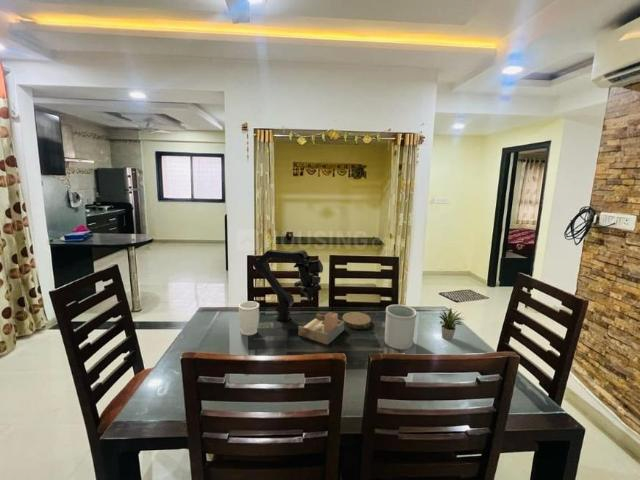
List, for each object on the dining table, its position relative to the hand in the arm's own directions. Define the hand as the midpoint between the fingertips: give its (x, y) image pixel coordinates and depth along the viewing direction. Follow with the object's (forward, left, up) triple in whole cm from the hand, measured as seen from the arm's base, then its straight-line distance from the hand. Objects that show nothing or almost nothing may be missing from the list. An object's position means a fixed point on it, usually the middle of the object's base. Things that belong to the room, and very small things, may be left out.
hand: (310, 300), depth 185 cm
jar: (-21, -26, -13) cm, 36 cm away
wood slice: (+21, +16, -14) cm, 30 cm away
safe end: (+16, -5, -13) cm, 21 cm away
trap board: (+7, -5, -13) cm, 16 cm away
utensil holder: (+48, +7, -13) cm, 50 cm away
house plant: (+68, +25, -13) cm, 74 cm away
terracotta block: (+16, -5, -11) cm, 20 cm away
